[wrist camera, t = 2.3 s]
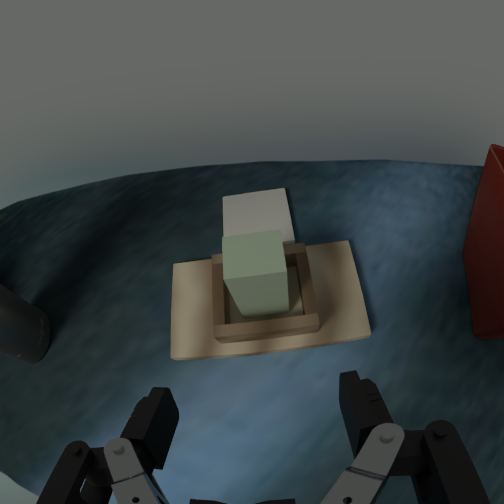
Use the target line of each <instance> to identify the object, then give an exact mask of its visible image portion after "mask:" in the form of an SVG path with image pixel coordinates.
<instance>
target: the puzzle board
mask: <svg viewBox="0 0 504 504" xmlns="http://www.w3.org/2000/svg"><path fill="white" fill-rule="evenodd" d="M283 249H284V256H285V262H286V269H287V282H288V299H289V312H288V313H280V314H272V315H264V316H256V317H247V318H243V316H242V314H241V312H240V310H239V308H238V306H237V305H236V303H235V301H234V299H233V297H232V295H231V293H230V291H229V289H228V287H227V285H226V283H225V282H224V280H223V253H222V254H215V255H212V259H207V260H199V261H192V262H184V263H177V264H174V267H173V285H172V311H171V358H172V359H174V360H195V359H213V358H227V357H239V356H250V355H260V354H269V353H278V352H286V351H293V350H300V349H307V348H314V347H320V346H326V345H332V344H338V343H344V342H349V341H354V340H360V339H365V338H368V337H369V336H370V335H371V330H370V326H369V321H368V316H367V312H366V307H365V303H364V299H363V295H362V290H361V286H360V282H359V278H358V274H357V271H356V267H355V263H354V259H353V256H352V252H351V249H350V245H349V242H348V240H346V241H339V242H332V243H324V244H317V245H310V246H305V242H303V243H296V244H288V245H283Z"/></svg>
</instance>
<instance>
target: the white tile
mask: <svg viewBox="0 0 504 504" xmlns="http://www.w3.org/2000/svg"><path fill="white" fill-rule="evenodd" d="M223 229H224V237H228V236H234V235H241V234H249V233H256V232H263V231H270V230H277V229H280V230H281V237H282V243H283V245H287V244H294V243H295V238H294V233H293V228H292V222H291V217H290V212H289V207H288V202H287V197H286V192H285V188H280V189H273V190H265V191H258V192H252V193H245V194H238V195H232V196H226V197H223Z"/></svg>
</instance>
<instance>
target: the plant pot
mask: <svg viewBox="0 0 504 504" xmlns="http://www.w3.org/2000/svg"><path fill="white" fill-rule="evenodd" d="M463 260H464V265H465V271H466V276H467V282H468V289H469V296H470V304H471V313H472V323H473V332H474V335H475V337H477V338H478V339H497V338H504V147H502V146H499V145H496V144H491V145H490V148H489V151H488V154H487V158H486V161H485V165H484V168H483V172H482V175H481V179H480V182H479V186H478V190H477V193H476V197H475V201H474V205H473V209H472V213H471V217H470V221H469V225H468V230H467V235H466V240H465V244H464V250H463Z"/></svg>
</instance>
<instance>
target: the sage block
mask: <svg viewBox="0 0 504 504" xmlns="http://www.w3.org/2000/svg"><path fill="white" fill-rule="evenodd" d="M222 252H223V280H224V282H225V283H226V285H227V287H228V289H229V291H230V293H231V295H232V297H233V299H234V301H235V303H236V305H237V306H238V308H239V310H240V312H241V314H242V316H243V318H247V317H256V316H264V315H272V314H280V313H288V312H289V299H288V282H287V269H286V262H285V256H284V249H283V243H282V237H281V230H280V229H277V230H270V231H263V232H256V233H249V234H241V235H234V236H228V237H222Z"/></svg>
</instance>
